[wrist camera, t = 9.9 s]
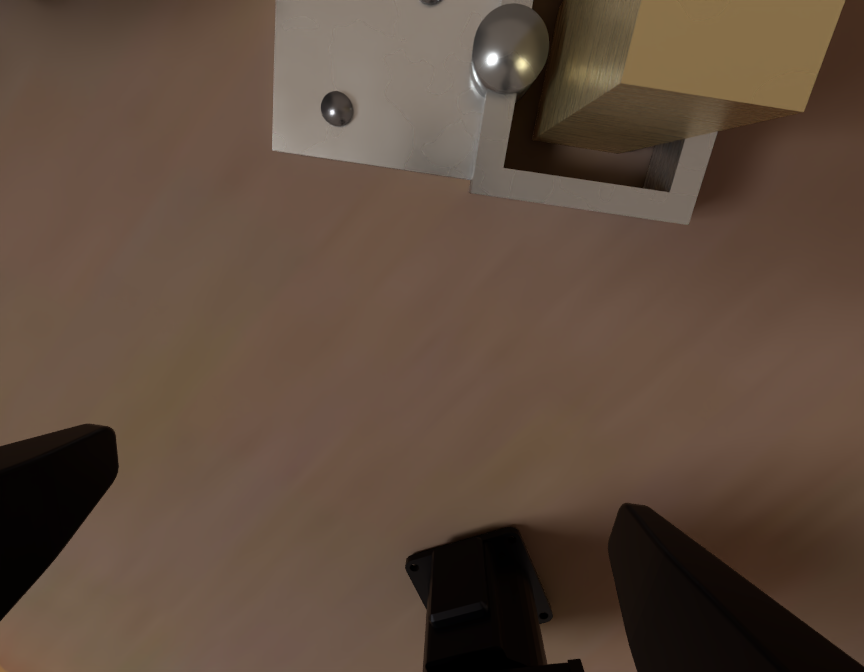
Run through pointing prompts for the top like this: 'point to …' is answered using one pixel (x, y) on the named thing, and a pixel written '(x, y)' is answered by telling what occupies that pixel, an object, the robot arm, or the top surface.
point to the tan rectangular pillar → (677, 68)
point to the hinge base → (443, 100)
